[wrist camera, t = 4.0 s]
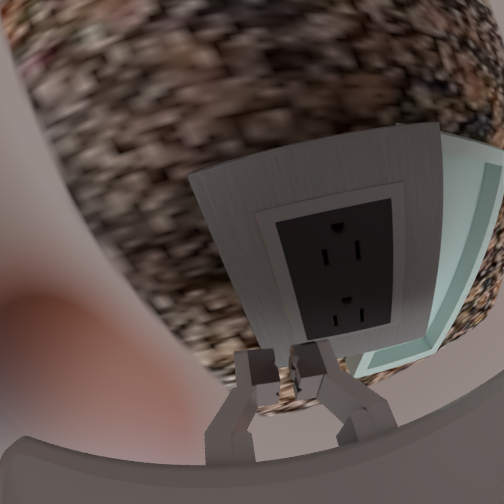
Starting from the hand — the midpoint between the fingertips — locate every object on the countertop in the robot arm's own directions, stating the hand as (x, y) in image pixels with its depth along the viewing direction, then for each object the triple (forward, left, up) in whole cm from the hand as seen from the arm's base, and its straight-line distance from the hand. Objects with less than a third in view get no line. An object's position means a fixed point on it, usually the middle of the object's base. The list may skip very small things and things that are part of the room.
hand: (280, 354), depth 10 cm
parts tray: (+1, +11, -6) cm, 13 cm away
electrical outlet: (0, -1, -6) cm, 6 cm away
